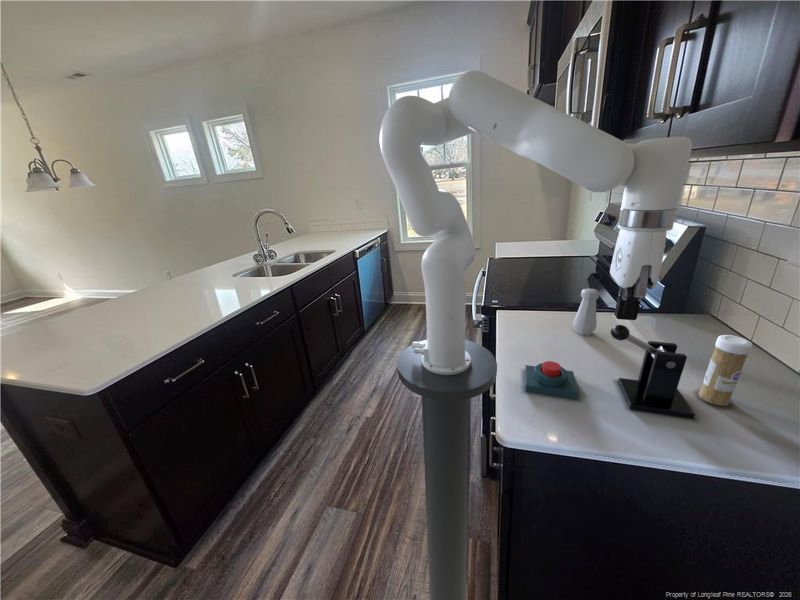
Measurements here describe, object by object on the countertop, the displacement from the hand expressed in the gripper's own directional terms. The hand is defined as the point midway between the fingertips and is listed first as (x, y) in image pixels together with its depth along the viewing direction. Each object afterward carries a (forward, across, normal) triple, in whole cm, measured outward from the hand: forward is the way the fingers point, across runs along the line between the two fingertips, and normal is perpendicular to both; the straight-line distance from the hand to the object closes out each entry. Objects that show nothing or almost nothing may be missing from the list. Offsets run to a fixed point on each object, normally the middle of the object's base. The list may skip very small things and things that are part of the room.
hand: (625, 317), depth 60 cm
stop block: (+17, 0, -12) cm, 21 cm away
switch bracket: (+18, 0, +8) cm, 19 cm away
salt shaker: (+18, -28, 0) cm, 33 cm away
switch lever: (+7, 0, +3) cm, 7 cm away
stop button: (+14, 0, -11) cm, 18 cm away
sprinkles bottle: (+18, -3, +18) cm, 26 cm away
